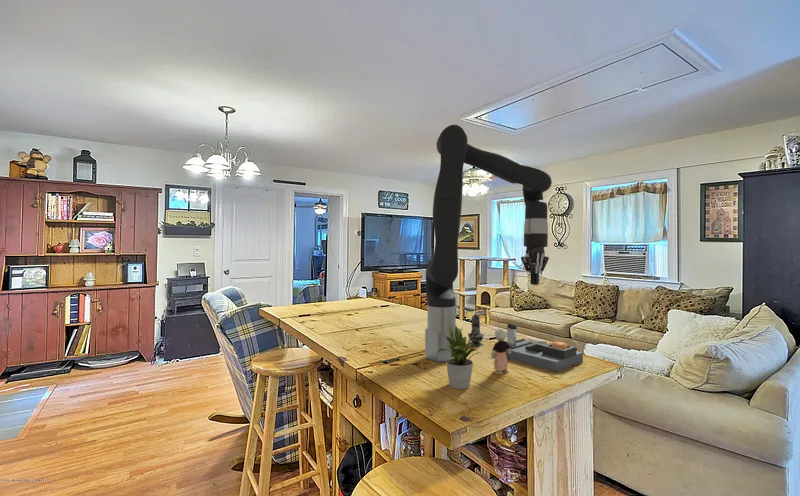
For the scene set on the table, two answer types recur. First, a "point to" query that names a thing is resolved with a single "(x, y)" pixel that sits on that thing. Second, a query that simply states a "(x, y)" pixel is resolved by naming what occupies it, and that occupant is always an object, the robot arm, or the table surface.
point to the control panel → (544, 355)
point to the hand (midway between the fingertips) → (534, 284)
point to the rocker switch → (537, 341)
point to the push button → (559, 345)
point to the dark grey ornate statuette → (476, 328)
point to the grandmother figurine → (500, 352)
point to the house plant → (459, 359)
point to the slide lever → (511, 334)
